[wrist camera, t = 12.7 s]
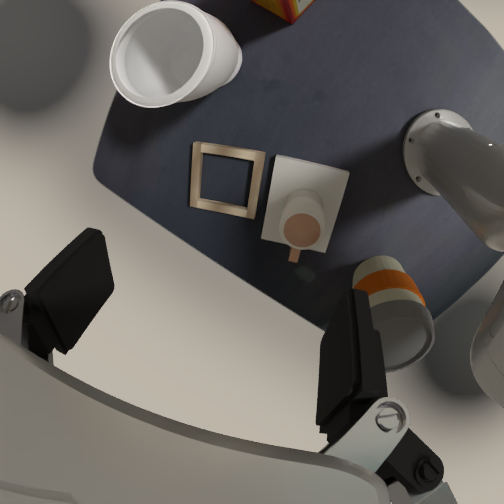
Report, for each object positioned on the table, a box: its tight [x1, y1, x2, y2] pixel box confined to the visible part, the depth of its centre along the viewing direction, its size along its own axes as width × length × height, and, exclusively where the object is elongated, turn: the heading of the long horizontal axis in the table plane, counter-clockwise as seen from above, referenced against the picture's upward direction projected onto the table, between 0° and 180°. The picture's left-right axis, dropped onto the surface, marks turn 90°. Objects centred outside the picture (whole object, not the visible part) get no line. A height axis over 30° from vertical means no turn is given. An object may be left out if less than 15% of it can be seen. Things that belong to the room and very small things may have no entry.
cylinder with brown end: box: [279, 189, 325, 263], centre depth 37 cm, size 8×6×7 cm
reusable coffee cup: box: [352, 256, 435, 373], centre depth 38 cm, size 13×12×15 cm
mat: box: [261, 155, 350, 253], centre depth 40 cm, size 10×13×1 cm
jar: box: [110, 0, 242, 108], centre depth 24 cm, size 11×10×15 cm
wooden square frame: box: [190, 141, 266, 219], centre depth 40 cm, size 10×10×1 cm
